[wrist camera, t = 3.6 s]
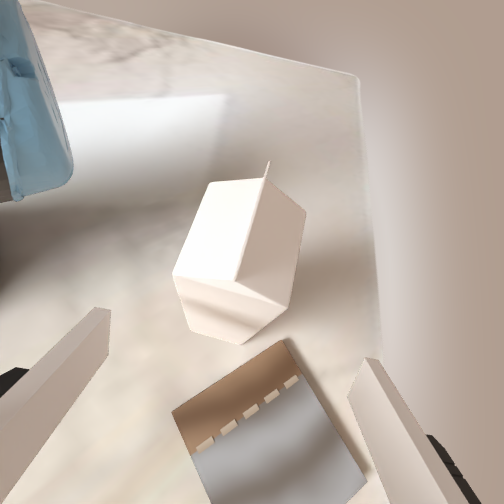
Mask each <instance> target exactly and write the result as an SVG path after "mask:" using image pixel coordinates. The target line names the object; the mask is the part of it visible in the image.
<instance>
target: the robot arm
mask: <svg viewBox="0 0 504 504" xmlns="http://www.w3.org/2000/svg"><path fill="white" fill-rule="evenodd" d="M73 167H74V164H73V157H72V152H71V148H70V144H69V140H68V137H67V133H66V130H65V126H64V123H63V120H62V116H61V113H60V110H59V107H58V104H57V100H56V97H55V94H54V91H53V88H52V85H51V82H50V79H49V76H48V74H47V71H46V68H45V65H44V62H43V59H42V57H41V54H40V51H39V49H38V46H37V43H36V41H35V38H34V35H33V33H32V31H31V28H30V26H29V23H28V22H27V20H26V18H25V16H24V14H23V11H22V8H21V5H20V3H19V1H18V0H0V203H3V202H7V201H12V200H14V201H16V202H17V201H20V200H22V199H23V198H24V197H25V196H28V195H32V194H36V193H39V192H43V191H47V190H51V189H54V188H58V187H60V186H62V185H64V184H66V183H67V182H68V180H69V179H70V178H71V176H72V174H73ZM110 318H111V310H108V309H102V308H97V307H94V308H93V309H92V310H91V311H90V312H89V313H88V314H87V315H86V316H85V317H84V318H83V319H82V320H81V321H80V322H79V323H78V324H77V325H76V326H75V327H74V328H73V329H72V330H71V331H70V332H69V333H67V334H66V335H65V336H64V337H63V338H62V339H61V340H60V341H59V342H58V343H57V344H56V345H55V346H54V347H53V348H52V349H51V350H50V351H49V352H48V353H47V354H46V355H45V356H44V357H43V358H41V359H40V360H39V361H38V362H37V363H36V364H35V365H34V366H33V367H32V368H31V369H30V370H29V369H23V368H17V367H15V368H14V369H12V370H10V371H8V372H6V373H4V374H2V375H1V376H0V504H2V502H3V501H4V499H5V498H6V497H7V495H8V494H9V492H10V491H11V490H12V488H13V487H14V485H15V484H16V483H17V481H18V480H19V479H20V477H21V476H22V474H23V473H24V472H25V470H26V469H27V467H28V466H29V465H30V463H31V462H32V460H33V459H34V458H35V456H36V455H37V454H38V452H39V451H40V449H41V448H42V447H43V445H44V444H45V442H46V441H47V440H48V438H49V437H50V435H51V434H52V433H53V431H54V430H55V428H56V427H57V426H58V424H59V423H60V422H61V420H62V419H63V417H64V416H65V415H66V413H67V412H68V410H69V409H70V408H71V406H72V405H73V403H74V402H75V401H76V399H77V398H78V397H79V395H80V394H81V392H82V391H83V390H84V388H85V387H86V385H87V384H88V383H89V381H90V380H91V378H92V377H93V376H94V374H95V373H96V371H97V370H98V369H99V367H100V366H101V365H102V363H103V362H104V360H105V359H106V358H107V356H108V352H109V335H110ZM347 398H348V400H349V403H350V405H351V407H352V410H353V412H354V415H355V417H356V420H357V422H358V425H359V427H360V430H361V432H362V435H363V437H364V440H365V442H366V445H367V447H368V450H369V452H370V454H371V457H372V459H373V462H374V464H375V467H376V469H377V472H378V474H379V477H380V479H381V482H382V484H383V487H384V489H385V492H386V494H387V497H388V499H389V501H390V504H481V502H480V501H479V499H478V498H477V496H476V495H475V493H474V492H473V490H472V489H471V487H470V486H469V484H468V483H467V481H466V480H465V479H463V475H462V474H461V472H460V471H459V469H458V468H457V467H456V466H455V465H454V462H453V460H452V459H451V457H450V456H449V454H448V453H447V451H446V450H445V448H444V447H442V445H441V444H440V443H439V442H438V441H437V440H436V439H435V438H434V437H433V436H432V435H426V434H425V433H424V432H423V430H422V428H421V427H420V425H419V424H418V422H417V421H416V419H415V417H414V416H413V414H412V412H411V411H410V409H409V408H408V406H407V405H406V403H405V402H404V400H403V398H402V397H401V395H400V394H399V392H398V390H397V389H396V387H395V386H394V384H393V382H392V381H391V379H390V378H389V376H388V374H387V373H386V371H385V370H384V368H383V367H382V365H381V363H380V362H379V360H375V359H370V358H364V360H363V363H362V365H361V367H360V369H359V371H358V374H357V376H356V378H355V380H354V382H353V385H352V387H351V389H350V391H349V393H348V396H347Z"/></svg>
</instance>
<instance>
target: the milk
mask: <svg viewBox="0 0 504 504" xmlns="http://www.w3.org/2000/svg"><path fill="white" fill-rule="evenodd" d="M270 162H271V161H270V160H269V161H268V164H267V167H266V170H265V174H264V177H263V178H253V179H241V180H229V181H218V182H210V183H209V185H208V187H207V190H206V192H205V195H204V197H203V200H202V202H201V204H200V207H199V209H198V212H197V214H196V217H195V219H194V221H193V224H192V226H191V229H190V231H189V234H188V236H187V238H186V241H185V243H184V246H183V248H182V251H181V253H180V255H179V258H178V260H177V263H176V265H175V268H174V270H173V273H172V276H173V279H174V282H175V285H176V288H177V291H178V294H179V297H180V300H181V304H182V307H183V310H184V313H185V316H186V319H187V322H188V325H189V328H190V331H192V332H195V333H199V334H203V335H206V336H210V337H213V338H217V339H220V340H224V341H227V342H231V343H234V344H238V345H242V344H243V343H245V342H246V341H247V340H248V339H250V338H251V337H252V336H254V335H255V334H256V333H257V332H259V331H260V330H261V329H262V328H264V327H265V326H266V325H268V324H269V323H270V322H271V321H273V320H274V319H275V318H277V317H278V316H279V315H280V314H282V313H283V312H284V311H285V310H287V309H288V308H289V303H290V298H291V293H292V287H293V282H294V277H295V271H296V266H297V261H298V255H299V250H300V245H301V239H302V234H303V229H304V223H305V218H306V211H305V210H304V209H302V208H301V207H300V206H299V205H298V204H296V203H295V202H294V201H293V200H291V199H290V198H289V197H288V196H287V195H285V194H284V193H283V192H282V191H280V190H279V189H278V188H277V187H276V186H274V185H273V184H272V183H271V182H269V181H268V180H267V179H266V176H267V173H268V169H269V166H270Z"/></svg>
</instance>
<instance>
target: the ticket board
mask: <svg viewBox="0 0 504 504" xmlns="http://www.w3.org/2000/svg"><path fill="white" fill-rule="evenodd" d="M171 413H172V415H173V417H174V420H175V422H176V424H177V427H178V429H179V431H180V433H181V436H182V438H183V440H184V442H185V445H186V447H187V449H188V452H189V454H190V456H191V458H192V461H193V463H194V465H195V467H196V470H197V472H198V474H199V477H200V479H201V481H202V483H203V486H204V488H205V490H206V492H207V495H208V497H209V499H210V502H211V504H346V503H347V502H348V501H349V500H350V499H351V498H352V497H353V496H354V495H355V494H356V493H357V492H358V491H359V490H360V489H361V488H362V487H363V486H364V485H365V484H366V483H367V482H368V481H367V480H366V478H365V477H364V475H363V473H362V472H361V470H360V468H359V467H358V465H357V463H356V462H355V460H354V458H353V457H352V455H351V453H350V452H349V450H348V448H347V447H346V445H345V443H344V442H343V440H342V439H341V437H340V435H339V434H338V432H337V430H336V429H335V427H334V425H333V424H332V422H331V420H330V419H329V417H328V415H327V414H326V412H325V410H324V409H323V407H322V405H321V404H320V402H319V400H318V399H317V397H316V396H315V394H314V392H313V391H312V389H311V387H310V386H309V384H308V382H307V381H306V379H305V377H304V376H303V374H302V372H301V371H300V369H299V367H298V366H297V364H296V362H295V361H294V359H293V358H292V356H291V354H290V353H289V351H288V349H287V348H286V346H285V344H284V343H283V341H282V340H280V341H278V342H277V343H275V344H274V345H272V346H271V347H269V348H268V349H266V350H265V351H263V352H262V353H260V354H259V355H257V356H256V357H254V358H253V359H251V360H250V361H248V362H247V363H245V364H243V365H242V366H240V367H239V368H237V369H236V370H234V371H233V372H231V373H230V374H228V375H227V376H225V377H224V378H222V379H221V380H219V381H218V382H216V383H215V384H213V385H212V386H210V387H209V388H207V389H205V390H204V391H202V392H201V393H199V394H198V395H196V396H195V397H193V398H192V399H190V400H189V401H187V402H186V403H184V404H183V405H181V406H180V407H178V408H177V409H175V410H174V411H172V412H171Z"/></svg>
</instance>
